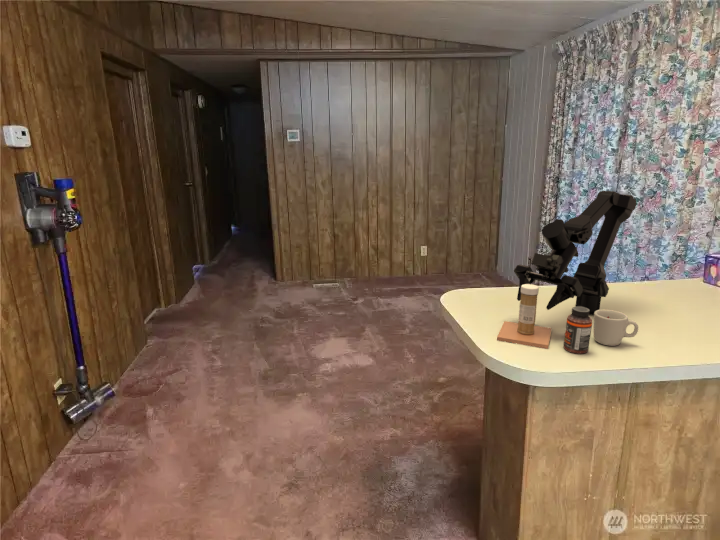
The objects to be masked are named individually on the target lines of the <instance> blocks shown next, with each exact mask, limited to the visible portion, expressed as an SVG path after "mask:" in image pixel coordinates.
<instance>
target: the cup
mask: <svg viewBox="0 0 720 540" xmlns="http://www.w3.org/2000/svg"><path fill="white" fill-rule="evenodd" d="M630 325H633V327H634V329H633V331H632V332H631V333H628V332H627V328H628V326H630ZM638 332H639V324H638V323H637V321H635V320H633V319H629V316H628V315H626V314H625V313H624V312H621V311H618V310H612V309H599V310H597V311H595V312H594V315H593V339H594V341H596V342H597V343H599V344H601V345H604V346H610V347H612V346H613V347H614V346H615V347H616V346H618V345H619V344H621V342H622V340H623V338H633V337H635V336H637V334H638Z"/></svg>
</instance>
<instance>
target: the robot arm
mask: <svg viewBox="0 0 720 540" xmlns="http://www.w3.org/2000/svg"><path fill="white" fill-rule="evenodd" d="M636 207H637V199H636V198H635V197H634V195H633V194H621V193H619V192H616V191H615V190H614V191H613V190H612V191H611V190H600V191H599V192H598V193H597V196H596V198H594V199H593V200H592V201H591V203H590V204H589V205H588V206H587V207H586V208H585V209H584V210H583V211H582V213H580V214H579V215H578V216H575V217H571V218H569V219H568V220H567V221H565V222H564V220H563V219H561V218H555V220H554V221H552V222H549V223H548V224H546V225H544V226H543V227H542V229H541V235H542V237H543V238H544V240H545V242H546V244H547V245H548V247H549V249H551V252H550V253H549V255H547V254H541V253H536V252H535V253H534V255H533V257H532V260H531V263H530V264H531V265H532V266H533V265H534V266H536V267H535V269H536V271H538V272H534V270H533V269H532V268H531V266H530V265H529V266H528V265H523V264H517V265H516V266H515V268H514V269H513V272H514V274H515V275H516V276H517V278H518V280H519V281H518V283H519V284H518V291H517V297H516V300H517V301H518V302H520V301H521V286H522V285H523V284H533V283H534V282H535V281H539V282H543V283H546V284H551V285H554V286H556V290H555V291H554V293H553V295H552V296H551V297H550V298H549V299H550V300H549V301H548V303H547V305H546V307H545V309H546V310H547V311H549V310H551V309H553V308H554V307H556V306H557V305H559V304H560V303H563V302H564V301H567V300H568V299H574V298H575V297H576V299H575V306H574V307H576V306H580V307H585V308H588V309H589V310H590V311H589V315H588V316H591V315H592V316H594V312H595V311H597V310H601V301H602V298H606V297H607V295H608V294H609V289H610V287H609V286H608V284H607V282H606V279H607V278H606V277H607V274H606V270H605V264H606V262H607V259H608V258H609V255H610V252H611V250H612V247H613V244H614V242H615V240H616V238H617V235H618V232H619V230H620V227H621V225H622V224H623V223H624V222H625V221H627V220H628V219H629V218H630V217H631V215H632V214H633V212H634V210H635V209H636ZM603 217H604V219H603V222H602V224H601V227H600V229H599V232H598V234H597V236H596V238H595V241H594V244H593V247H592V249H591V251H590V254H589V256H588V259H587V260H586V261H585V262H580V263H578V264H577V265H578V266H577V269H576V271H575V273H574V274H573V276H570V275H565V273H568V272H569V268H568V267H569V265H570V264H571V262H572V260H573V258H574V257H576V258H578V257H579V251H578V246H576V245H575V244H578V245H585V244H587V243H588V241H590V239H591V237H592V235H593V234H594V233H593V228H594V227H595V225H596V224H597V223H598V222H599V221H600V220H601V219H602V218H603Z"/></svg>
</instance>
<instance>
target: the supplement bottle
mask: <svg viewBox="0 0 720 540" xmlns="http://www.w3.org/2000/svg"><path fill="white" fill-rule="evenodd" d="M589 311H590V310H589V309H588V308H585V307H580V306H576V307H575V306H573V307H572V308H571V313H569V314H568V316H567V317H566V323H565V330H564V331H565V333H564V340H563V348H564V350H566V351H567V352H570V353H573V354H577V355H579V354H580V355H581V354H586V353H587V352H588V351H589V349H590V341H591V333H592V326H593V319H592V318H591V316H590V315H589Z"/></svg>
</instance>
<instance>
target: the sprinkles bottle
mask: <svg viewBox="0 0 720 540" xmlns="http://www.w3.org/2000/svg"><path fill="white" fill-rule="evenodd" d="M539 289H540V287H539V286H538V285H536V284H533V283H531V284H523V285H522V286H521V300H520V301H519V311H518V322H517V323H518V329H517V331H518V332H519V333H521V334H524V335H531V334H534V326H536V325H535V324H536V319H537V318H536V317H537V305H538V296H539V291H540V290H539Z"/></svg>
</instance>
